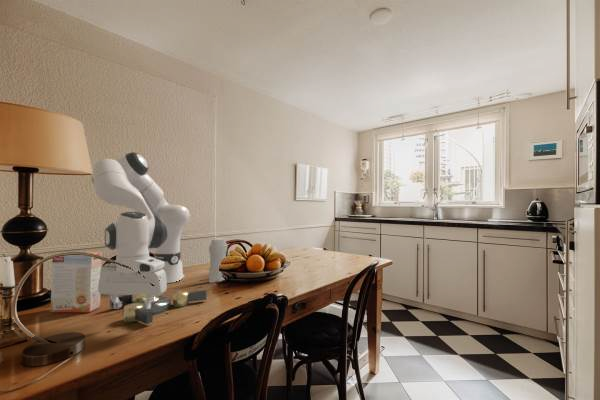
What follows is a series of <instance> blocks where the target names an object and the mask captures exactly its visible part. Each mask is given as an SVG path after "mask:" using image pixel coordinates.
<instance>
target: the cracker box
mask: <svg viewBox="0 0 600 400" xmlns="http://www.w3.org/2000/svg"><path fill="white" fill-rule="evenodd" d="M62 252H63V251H62ZM62 252H60V253H62ZM86 252H87V253H92V254H95V255H99V256H101V257H102V258H103V251H86ZM58 253H59V252H56V253H53V254H52V256H53V255H54V254H58ZM102 266H103V259H102V260H100V259H97V258H94V257H90V256H84V255H68V256H61V257H56V258H53V257H52V267H51V288H50V289H51V290H50V291H51V292H50V313H91V312H93V311H95V310H97V309H100V308H101V306H102V305H101V302H102V301H101V300H102V299H101V298H102V297H101V296H102V294H100V293H99V291H98V285H99V279H100V270H101V267H102Z"/></svg>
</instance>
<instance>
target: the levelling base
mask: <svg viewBox="0 0 600 400" xmlns="http://www.w3.org/2000/svg"><path fill="white" fill-rule="evenodd" d="M147 300H148V299H147V297H146V298H143V299H140V300H137V301H135V302H133V303H142V304H144V303H146V302H147ZM133 303H132V304H133ZM171 303H172V299H171V298H170V297H168V296H162V295H155V297H154V299H153V300H152V302H151V308H150V309H148V310H150V311H153V316H154V315H157V314H162V313H165V312H166V311H168V310H170V309H171V307H172V304H171Z"/></svg>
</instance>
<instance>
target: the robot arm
mask: <svg viewBox="0 0 600 400" xmlns="http://www.w3.org/2000/svg"><path fill="white" fill-rule="evenodd" d="M148 171H149V165H148V162H147V160H146V158H144V157H143V156H142V155H141V154H140V153H137V152H135V151H133V152H129V153H126V154H125V155H123V156H121V157H117V158H116V159H113V158H102V159H100V160H97V162H95V164H94V165H93V170H92V177H91V181H92V184H93V188H94V191H95V194H96V195H97V198H99V199H100V200H101V201H103V202H104V203H107V204H109V205H114V206H118V207H122V208H123V207H124V208H127V209H131V210H134V211H126V212H122V213H119V215H118V219H117V221H116V222H112V223H110V224H109V225H108V226H106V227H105V228H104V246H106V247H107V248H108V249H109V250H111V251H117V253H116V256H115V263H105V264H104V265H103V264H102V267H101V270H100V279H99V285H98V291H99V293H100V294H101V295H109V300H110V299H111V300H112V302H113V303H114V308H113V309H115V310H116V309H117V310H118V309H120V308H122V307H123V306H122V301H119V299H118V296H121V295H146V298H147V299H148V300H147V302H146V303H144V304H143V309H150V308H151V302H152V300H153V299H154V297H155V296H162V294H164V293H165V292H166V291H167V287H168V285H167V284H170V283H171V284H172V283H176V281H177V282H179V280H180V281H182V280H183V279H182V278H184V277H185V274H184V273H183V272H184V271H183V261H181V256H182V254H181V250H180V249H181V238H182V237H181V236H182V232H183V229H184V227H185V226H186V225H187V223H188V222H189V220H190V216H191V214H190V211H189V209H188V208H187V207H186V206H183V205H180V204H170V203H168V201H166V199H165V197H164V196H165V193H164V191H163V189H162V188H161V187H160V186H159V185H158V184H157V183H156V182H155V180H154V179H153V178H152V177H151V176H150V175H149V174H148V173H147V172H148ZM149 249H155V252H156V253H154V254H153V256H150V250H149ZM116 262H119V263H121V265H122V264H124V265H126V266H129V268H130V267H131V269H129V268H126V267H123V266H120V265H118V264H116ZM132 269H133V270H132ZM138 271H139V272H140V274H141V275H140V274H139V273H138ZM143 276H144V277H145V278H144V277H143ZM159 276H160V277H161V278H160V277H159ZM181 279H182V280H181ZM159 280H160V281H159ZM150 283H151V284H153V285H155V286H152V285H151V284H150Z"/></svg>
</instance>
